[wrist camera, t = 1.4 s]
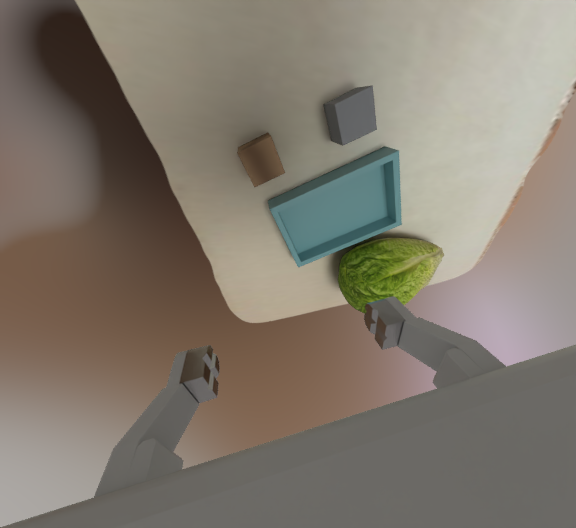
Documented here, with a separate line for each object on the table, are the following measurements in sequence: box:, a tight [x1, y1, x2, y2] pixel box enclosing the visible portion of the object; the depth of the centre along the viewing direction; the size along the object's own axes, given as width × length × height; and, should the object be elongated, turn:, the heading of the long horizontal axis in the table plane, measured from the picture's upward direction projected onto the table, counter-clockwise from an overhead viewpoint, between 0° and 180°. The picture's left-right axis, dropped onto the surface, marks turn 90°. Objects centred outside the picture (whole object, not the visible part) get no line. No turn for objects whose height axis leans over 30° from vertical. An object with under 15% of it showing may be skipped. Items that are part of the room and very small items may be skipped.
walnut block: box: [237, 133, 285, 187], centre depth 31 cm, size 5×5×5 cm
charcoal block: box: [324, 85, 377, 145], centre depth 29 cm, size 5×5×5 cm
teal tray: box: [268, 147, 402, 267], centre depth 39 cm, size 22×14×4 cm, turn 112°
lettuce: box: [338, 238, 444, 313], centre depth 46 cm, size 15×24×16 cm
